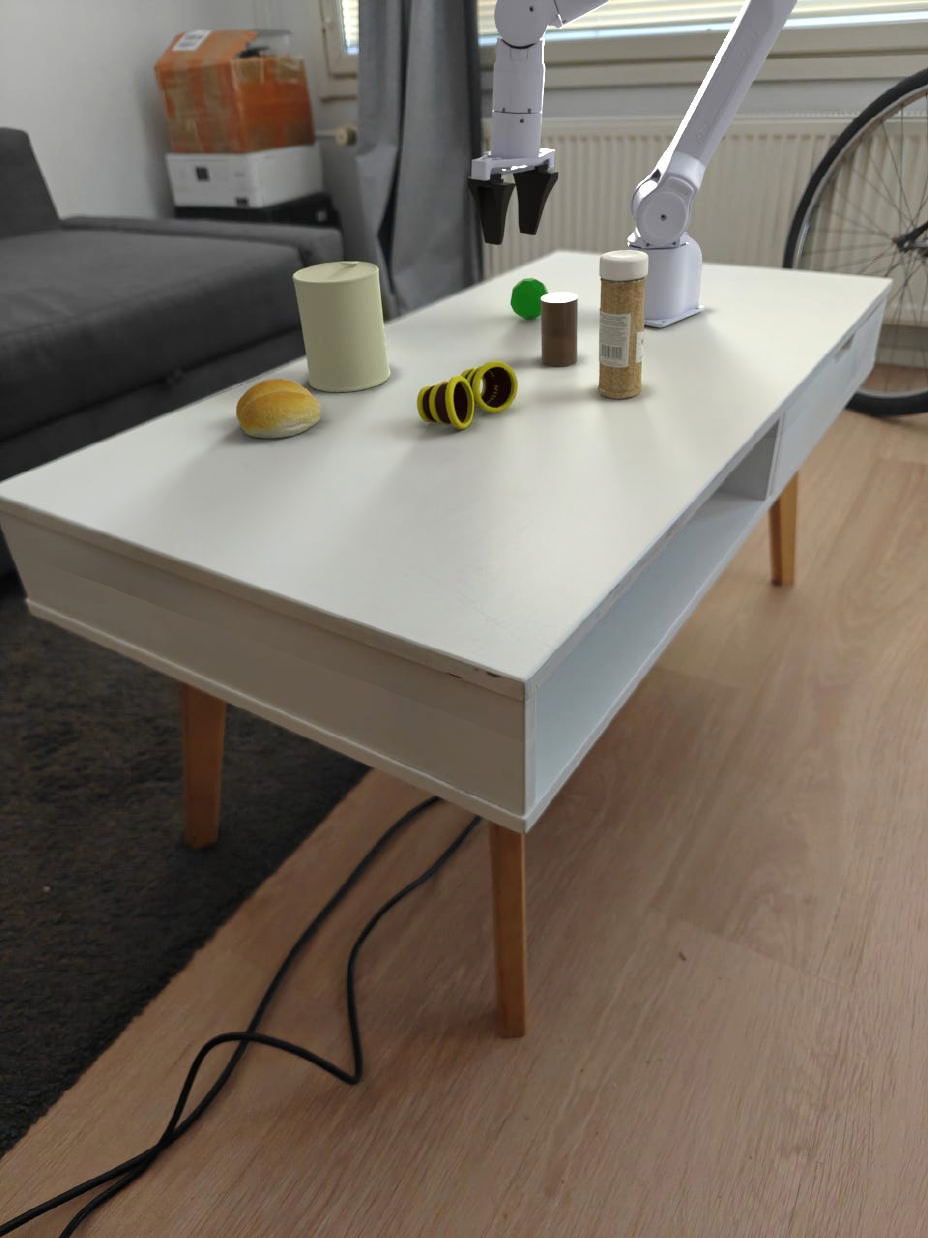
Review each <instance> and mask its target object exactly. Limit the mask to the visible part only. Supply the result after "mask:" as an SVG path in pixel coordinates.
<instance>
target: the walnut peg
mask: <svg viewBox="0 0 928 1238" xmlns="http://www.w3.org/2000/svg"><path fill="white" fill-rule="evenodd" d="M578 302H579V297H578V295H577V294H575V293H572V292H571V293H570V292H551V293H549V294H547V295H544V296H542V297H541V315H540V335H541V337H540V340H541V341H540V342H541V344H540V345H541V363H542V364H543V365H544V366H548V367H554V368H561V367H569V366H572V365H575V364H576V363H577V362H578V320H579V319H578V318H579V317H578V314H579V313H578V311H579V307H578V306H579V305H578V304H579V303H578Z"/></svg>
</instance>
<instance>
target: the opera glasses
mask: <svg viewBox="0 0 928 1238" xmlns="http://www.w3.org/2000/svg"><path fill="white" fill-rule="evenodd" d="M481 381H482V389H480V387H481V385H480V384H481ZM518 383H519V382H518V379H517V376H516V373H515V372H514V370H513V369H512V367H511V366H509V365H508V364H507V363H505V362H503V361H499V360H491V361H488V362H486V363H484V364H483V365H479V366H477V367H469V368H466V369H465V370H463V371H462V373H461V374H460V375H454V376H452V377H451V378H450V379H449V380H448V381H446V380H444V381H441V382H438V383H436V384H433V385H425V386H423V387H422V388H420V390H419V392H418V394H417V396H416V397H417V398H416V409H417V412H418V414H419V417H420V418H421V420H423V421H424V422H426V423H438V424H440V425H445V426H449V425H453V427H454V428H455V429H457V430H465V429H467V428H468V427H469V426H470V425H471V423H472V421H473V418H474V413H475V406H477V407H479V408H480V409H481V410H482V411H484V412H486V413H490V414H498V413H502V412H504V411H505V410H507V409H508V408H509V407H510V406H512V404H513V402H514V401H515V399H516V396H517V393H518V385H519V384H518ZM480 390H481V391H480Z"/></svg>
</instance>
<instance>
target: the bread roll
mask: <svg viewBox="0 0 928 1238" xmlns="http://www.w3.org/2000/svg"><path fill="white" fill-rule="evenodd" d="M235 407H236V408H235V415H236V418H237V420H238V421H239V425H240V428H241V430H242V432H244V433H245V434H246V435H248V436H249V437H251V438H256V439H282V438H289V437H293V436H296V435H299V434H302V433H304V432H306V431H307V430H309V429H311V428H312V427H314V426H315V425H316V424H318V422H319V421H320V419H321V416H322V406H321V403H320V402H319V401H318V400H317V399H316V397H315V396H314V395H313V394H312V393H311V392H310V391H309V390H308V389H307V388H306V387H304V386H303V385H301V384H300V383H298V382H295V381H293V380H288V379H281V378H280V379H279V378H276V379H268V380H263V381H260V382H258V383H255V384H254V385H252V386H250V387H249V388H248V389H247V390H246V391H245V392H244V393H243V394H242V396H240V398H239V400H238V401H237V404H236V406H235Z"/></svg>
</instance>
